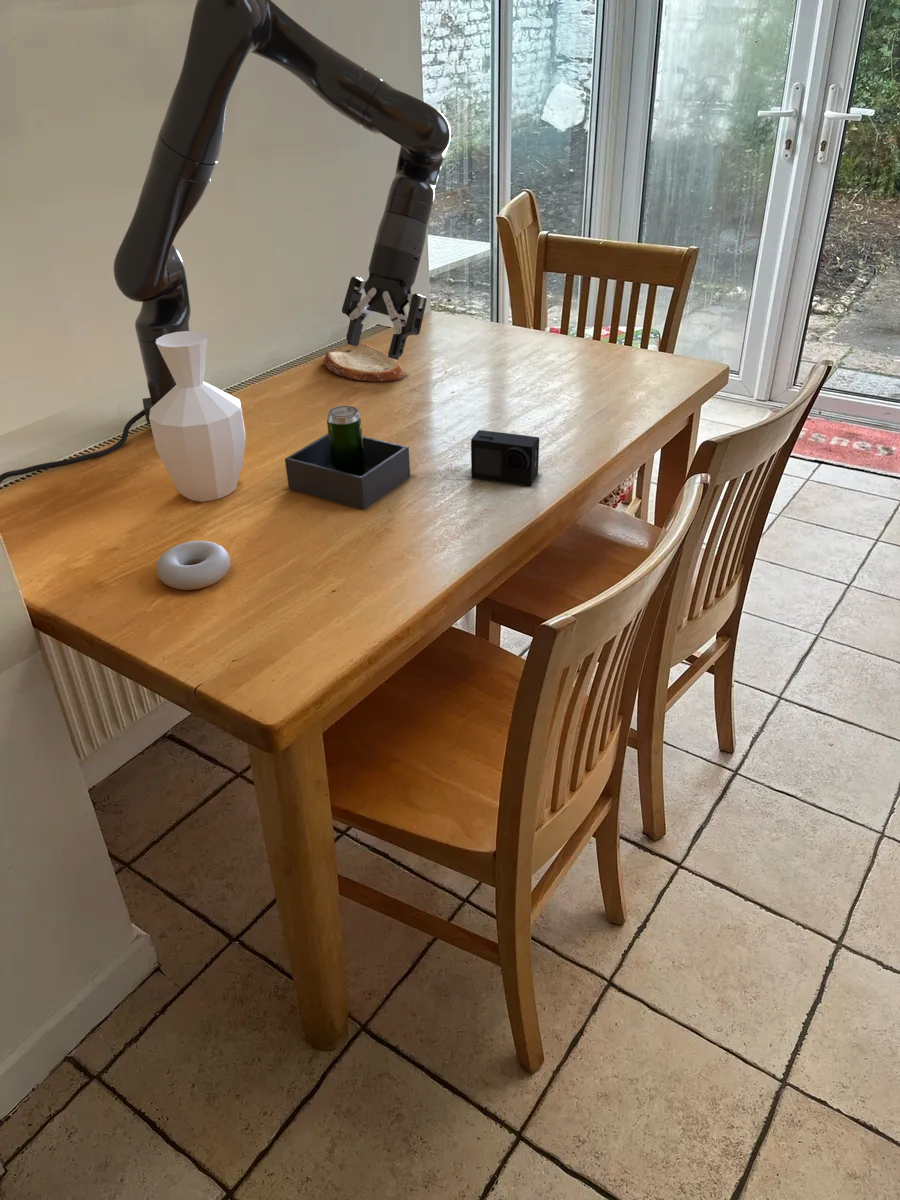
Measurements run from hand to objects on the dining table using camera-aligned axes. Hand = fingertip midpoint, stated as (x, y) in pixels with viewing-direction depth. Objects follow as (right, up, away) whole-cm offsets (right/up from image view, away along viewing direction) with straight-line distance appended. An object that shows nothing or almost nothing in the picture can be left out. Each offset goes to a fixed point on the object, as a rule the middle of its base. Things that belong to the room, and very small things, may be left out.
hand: (372, 351), depth 144 cm
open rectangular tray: (-4, -21, +3) cm, 21 cm away
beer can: (-4, -21, +3) cm, 21 cm away
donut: (-23, -37, -20) cm, 48 cm away
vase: (-27, -22, +2) cm, 35 cm away
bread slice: (-6, +10, +49) cm, 50 cm away
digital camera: (+21, -20, +3) cm, 30 cm away
